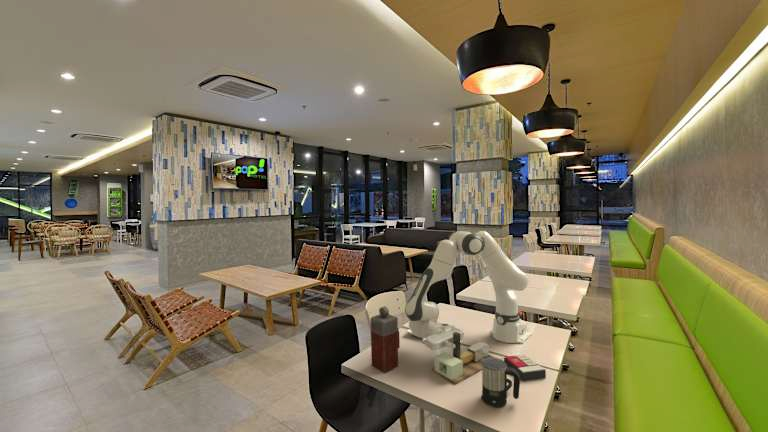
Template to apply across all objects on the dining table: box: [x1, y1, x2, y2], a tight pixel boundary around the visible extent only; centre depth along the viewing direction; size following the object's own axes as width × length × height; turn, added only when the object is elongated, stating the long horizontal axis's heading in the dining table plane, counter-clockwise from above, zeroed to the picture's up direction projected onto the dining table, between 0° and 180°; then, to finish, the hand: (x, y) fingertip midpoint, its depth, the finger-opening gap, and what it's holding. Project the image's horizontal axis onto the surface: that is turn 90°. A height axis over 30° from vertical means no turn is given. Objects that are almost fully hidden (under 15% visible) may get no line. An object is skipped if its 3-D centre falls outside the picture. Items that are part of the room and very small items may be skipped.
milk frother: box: [481, 357, 521, 408], centre depth 129 cm, size 14×16×15 cm
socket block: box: [434, 351, 463, 380], centre depth 143 cm, size 7×10×6 cm
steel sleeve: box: [466, 341, 491, 363], centre depth 156 cm, size 10×6×5 cm, turn 127°
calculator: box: [503, 354, 547, 382], centre depth 146 cm, size 11×4×15 cm
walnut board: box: [431, 355, 496, 386], centre depth 151 cm, size 30×14×1 cm, turn 127°
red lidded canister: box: [370, 305, 401, 374], centre depth 151 cm, size 9×11×28 cm
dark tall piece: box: [445, 332, 475, 369], centre depth 148 cm, size 18×3×14 cm, turn 127°
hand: (458, 345), depth 145 cm, fingers closed on dark tall piece, 2 cm apart
